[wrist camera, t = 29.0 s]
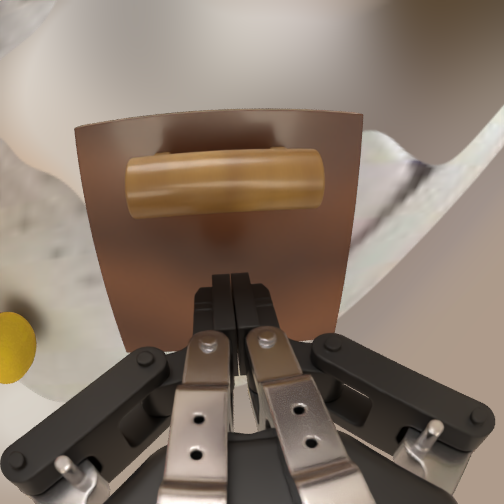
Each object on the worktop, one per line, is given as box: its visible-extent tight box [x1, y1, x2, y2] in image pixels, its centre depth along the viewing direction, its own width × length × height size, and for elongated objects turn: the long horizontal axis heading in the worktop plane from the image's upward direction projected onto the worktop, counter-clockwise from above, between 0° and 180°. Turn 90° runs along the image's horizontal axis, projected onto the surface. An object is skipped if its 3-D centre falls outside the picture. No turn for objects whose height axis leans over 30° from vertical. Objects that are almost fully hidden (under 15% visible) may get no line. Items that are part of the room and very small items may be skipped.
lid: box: [74, 109, 363, 352], centre depth 14 cm, size 13×13×6 cm
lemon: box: [0, 312, 36, 384], centre depth 21 cm, size 6×6×8 cm
